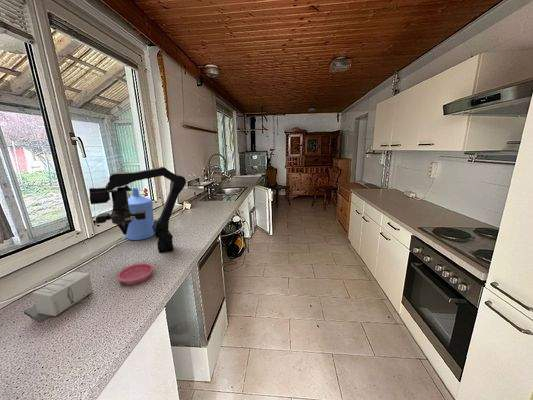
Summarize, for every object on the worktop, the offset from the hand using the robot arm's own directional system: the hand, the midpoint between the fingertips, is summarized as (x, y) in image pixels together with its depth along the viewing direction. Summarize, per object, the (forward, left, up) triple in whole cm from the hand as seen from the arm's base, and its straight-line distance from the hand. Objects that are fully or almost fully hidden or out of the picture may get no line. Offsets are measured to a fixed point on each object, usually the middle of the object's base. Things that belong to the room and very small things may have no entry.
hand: (125, 234), depth 101 cm
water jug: (-1, -29, -12) cm, 31 cm away
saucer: (-6, +19, -12) cm, 24 cm away
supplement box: (+9, +22, -8) cm, 26 cm away
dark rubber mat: (+16, +28, -12) cm, 34 cm away
